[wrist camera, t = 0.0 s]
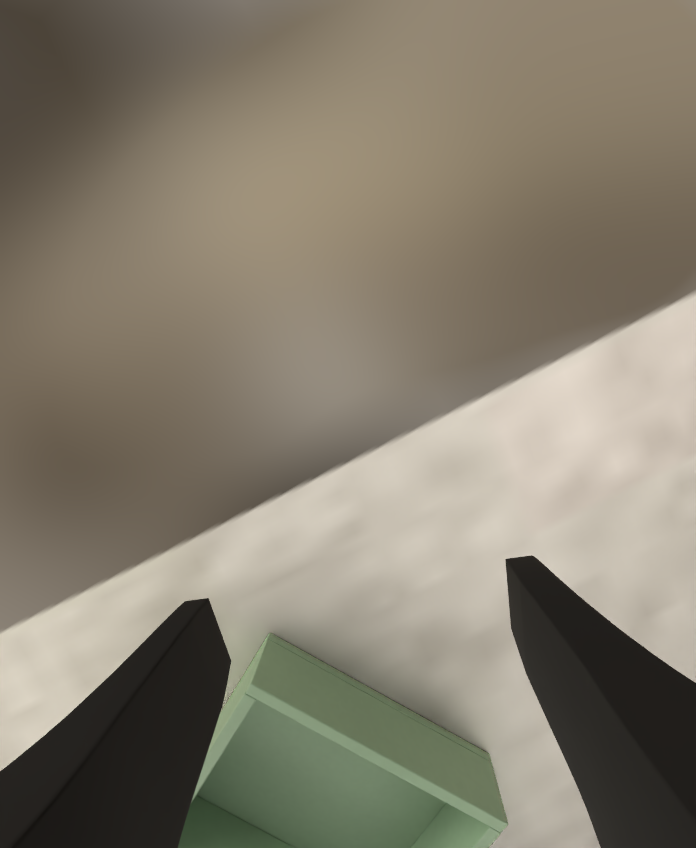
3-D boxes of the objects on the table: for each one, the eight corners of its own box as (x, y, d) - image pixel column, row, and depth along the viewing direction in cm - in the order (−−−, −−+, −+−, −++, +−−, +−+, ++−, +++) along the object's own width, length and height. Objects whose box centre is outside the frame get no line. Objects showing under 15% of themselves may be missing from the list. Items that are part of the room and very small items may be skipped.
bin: (380, 891, 26) (380, 977, 22) (177, 783, 25) (145, 853, 22) (489, 753, 23) (508, 824, 20) (269, 631, 23) (250, 683, 19)
